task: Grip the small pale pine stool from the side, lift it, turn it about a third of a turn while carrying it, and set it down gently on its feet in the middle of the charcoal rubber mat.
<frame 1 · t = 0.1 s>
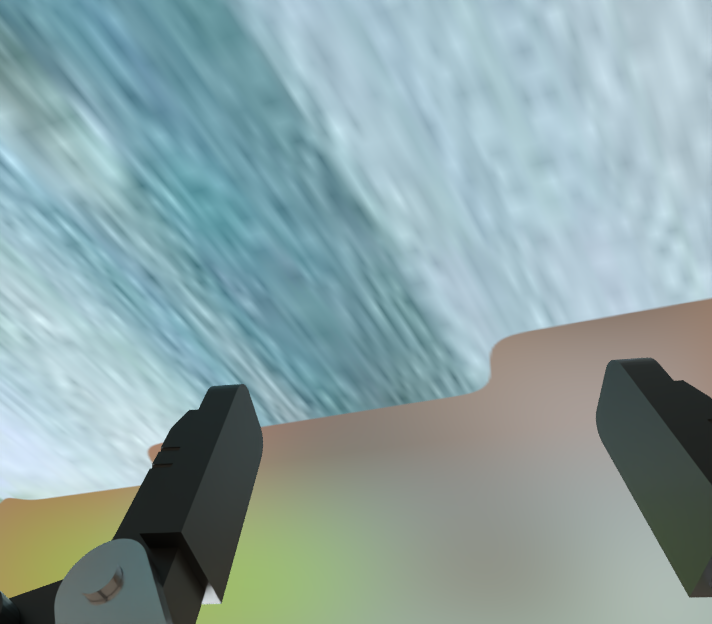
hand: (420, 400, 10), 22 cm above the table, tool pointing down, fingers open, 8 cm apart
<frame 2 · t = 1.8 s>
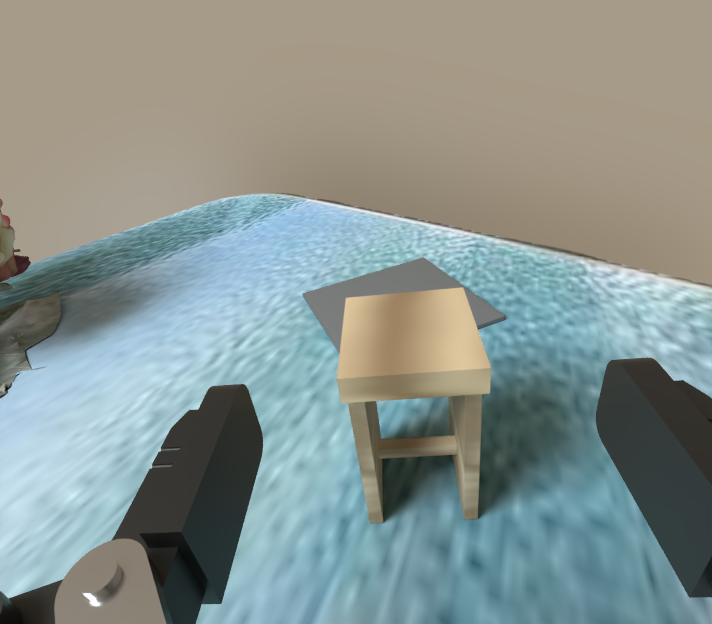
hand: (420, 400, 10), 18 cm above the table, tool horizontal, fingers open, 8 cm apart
charcoal mat: (394, 306, 47), on the table
pine stool: (419, 478, 29), on the table
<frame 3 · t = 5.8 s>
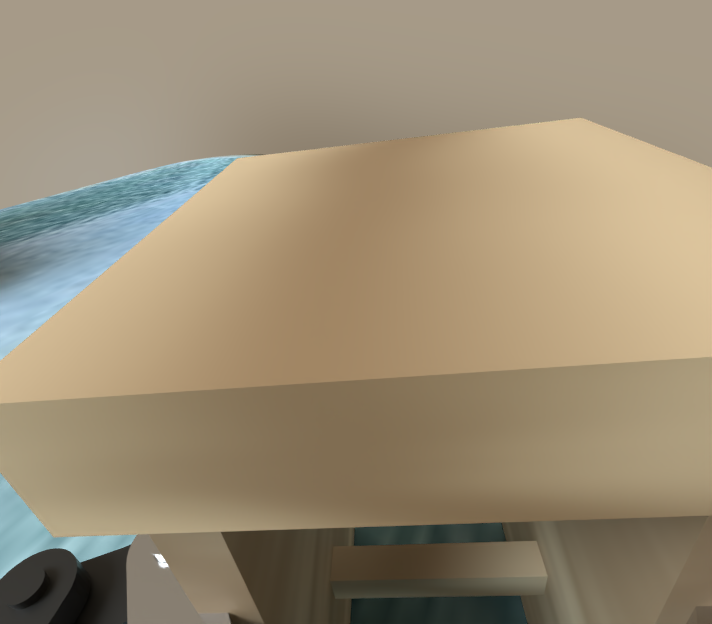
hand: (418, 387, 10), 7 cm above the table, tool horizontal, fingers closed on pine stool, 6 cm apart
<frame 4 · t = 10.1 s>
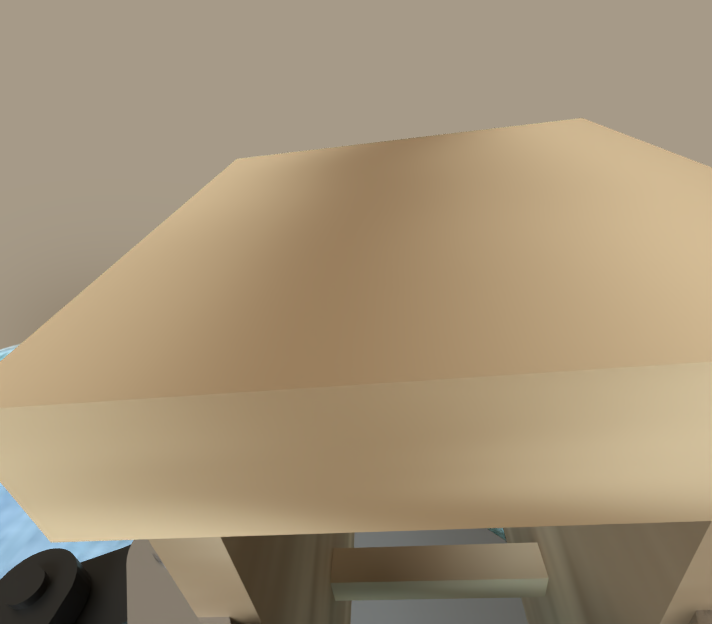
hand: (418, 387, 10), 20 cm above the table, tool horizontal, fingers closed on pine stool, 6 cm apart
when the fingers open (8 cm above the table, at t = 14.2 s): pine stool stays where it is, resting on charcoal mat.
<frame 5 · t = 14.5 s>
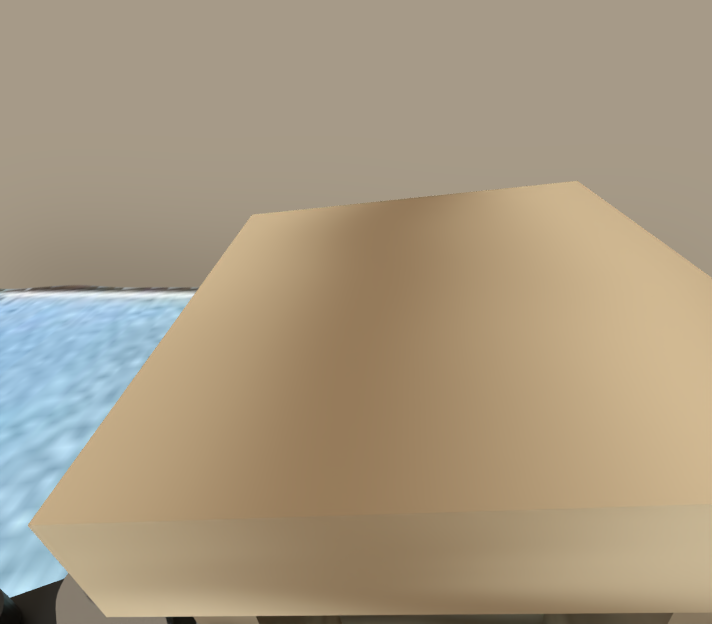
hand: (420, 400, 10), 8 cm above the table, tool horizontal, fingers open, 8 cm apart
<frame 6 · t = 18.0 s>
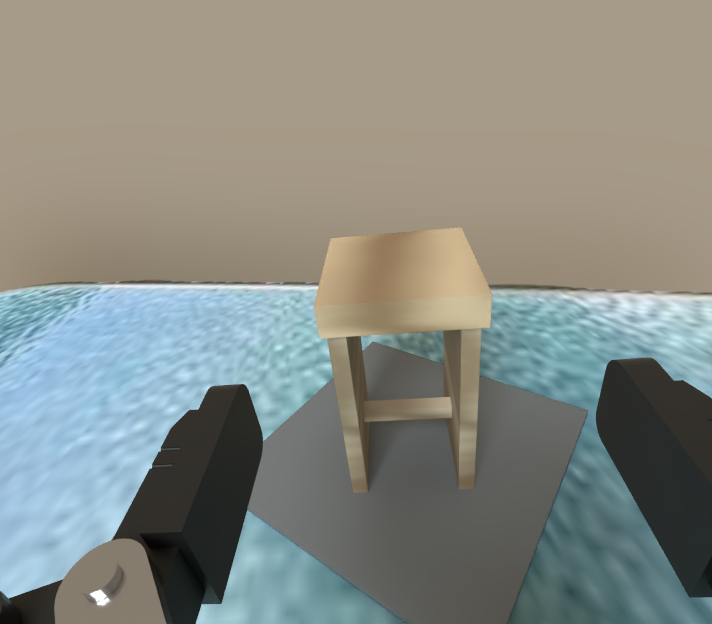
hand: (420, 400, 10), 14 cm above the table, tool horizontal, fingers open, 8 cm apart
charcoal mat: (408, 450, 26), on the table
pine stool: (409, 447, 26), resting on charcoal mat
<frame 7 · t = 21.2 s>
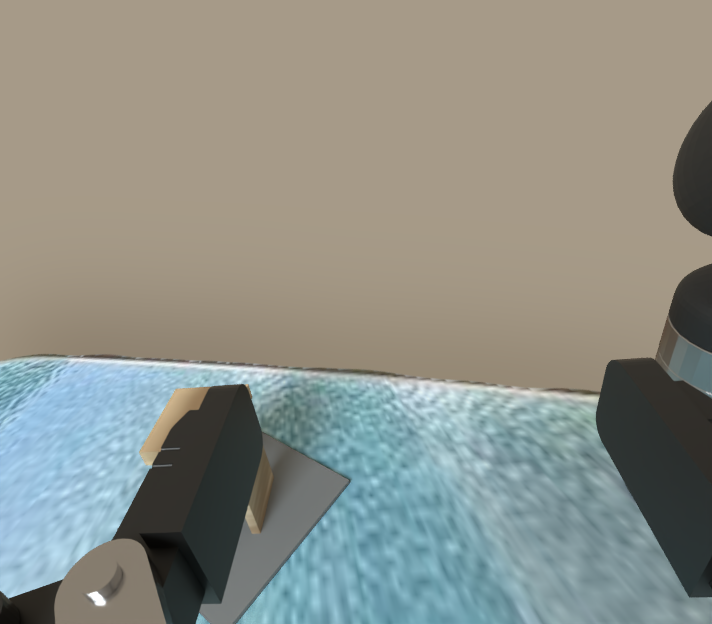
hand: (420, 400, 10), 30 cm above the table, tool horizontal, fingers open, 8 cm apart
charcoal mat: (236, 506, 43), on the table
pine stool: (235, 504, 43), resting on charcoal mat
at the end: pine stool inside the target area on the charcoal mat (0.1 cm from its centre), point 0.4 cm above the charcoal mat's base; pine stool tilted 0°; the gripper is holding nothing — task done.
